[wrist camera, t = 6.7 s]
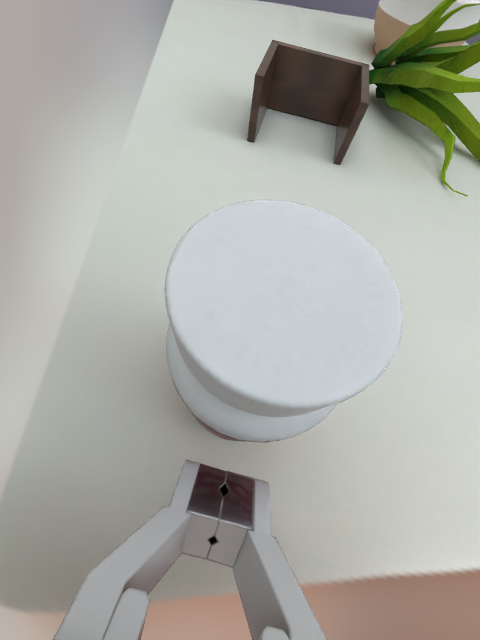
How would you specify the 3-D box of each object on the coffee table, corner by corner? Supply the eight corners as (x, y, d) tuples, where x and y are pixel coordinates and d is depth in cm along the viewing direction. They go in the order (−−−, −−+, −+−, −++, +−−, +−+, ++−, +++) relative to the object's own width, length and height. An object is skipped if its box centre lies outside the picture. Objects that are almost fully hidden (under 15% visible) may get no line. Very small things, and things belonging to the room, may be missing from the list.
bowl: (443, 89, 39) (495, 12, 32) (349, 56, 41) (379, -25, 34) (452, 58, 46) (496, -12, 39) (371, 30, 48) (400, -41, 40)
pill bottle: (290, 439, 14) (488, 441, 4) (183, 442, 14) (104, 453, 3) (280, 340, 17) (384, 194, 7) (190, 338, 16) (157, 173, 6)
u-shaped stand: (247, 140, 27) (255, 74, 22) (262, 103, 31) (272, 39, 26) (340, 165, 27) (369, 103, 22) (343, 124, 31) (369, 64, 26)
